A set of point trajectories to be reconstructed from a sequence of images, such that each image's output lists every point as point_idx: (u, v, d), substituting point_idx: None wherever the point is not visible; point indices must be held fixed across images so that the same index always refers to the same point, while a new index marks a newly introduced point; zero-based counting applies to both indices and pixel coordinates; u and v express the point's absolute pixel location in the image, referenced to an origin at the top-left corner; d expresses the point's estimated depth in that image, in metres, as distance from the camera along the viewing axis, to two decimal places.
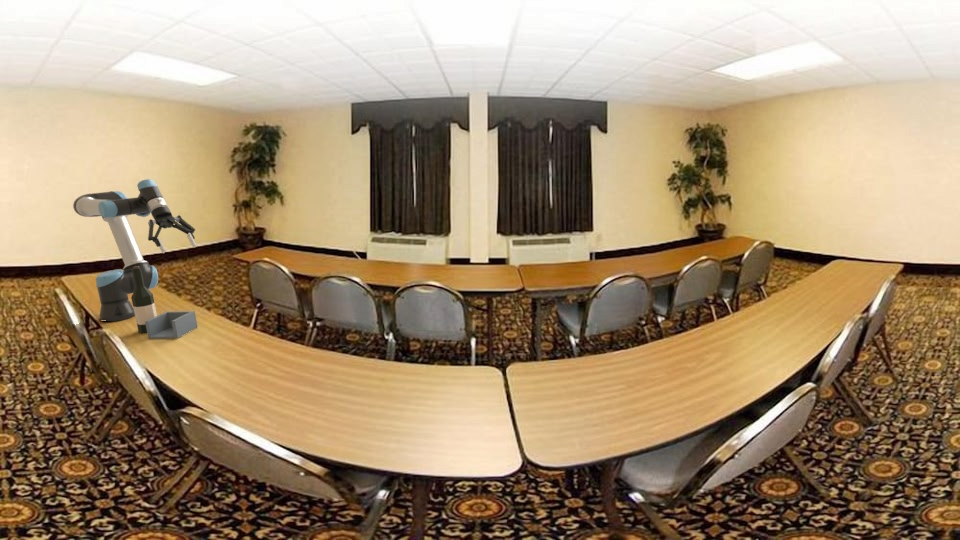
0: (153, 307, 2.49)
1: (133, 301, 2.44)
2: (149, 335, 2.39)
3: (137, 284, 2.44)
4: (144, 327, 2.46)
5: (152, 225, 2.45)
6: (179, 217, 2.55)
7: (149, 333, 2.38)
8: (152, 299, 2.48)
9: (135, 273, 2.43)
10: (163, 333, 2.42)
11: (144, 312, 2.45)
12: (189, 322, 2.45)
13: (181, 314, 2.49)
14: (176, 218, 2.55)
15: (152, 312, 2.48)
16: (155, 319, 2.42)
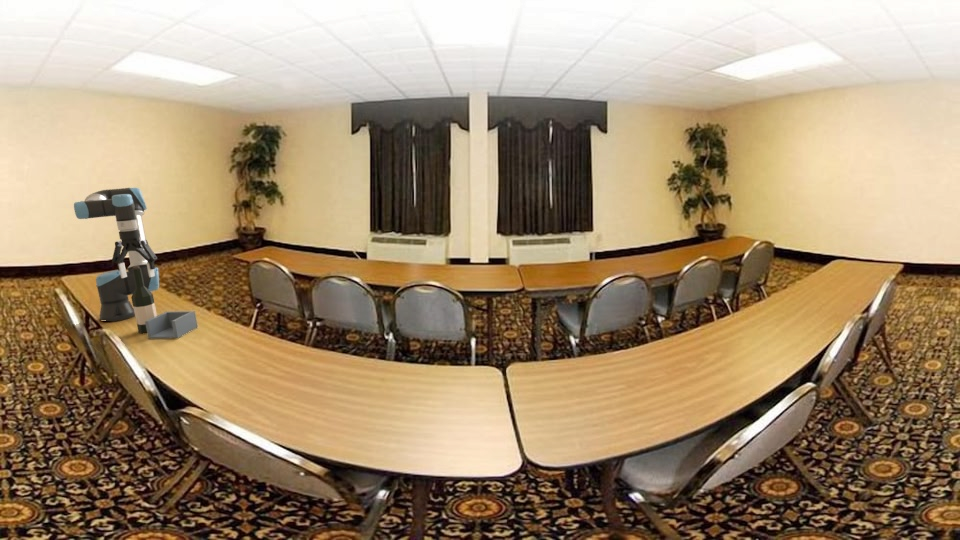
0: (153, 307, 2.49)
1: (133, 301, 2.44)
2: (149, 335, 2.39)
3: (137, 284, 2.44)
4: (144, 327, 2.46)
5: (116, 248, 2.41)
6: (142, 243, 2.39)
7: (149, 333, 2.38)
8: (152, 299, 2.48)
9: (135, 273, 2.43)
10: (163, 333, 2.42)
11: (144, 312, 2.45)
12: (189, 322, 2.45)
13: (181, 314, 2.49)
14: (141, 242, 2.40)
15: (152, 312, 2.48)
16: (155, 319, 2.42)
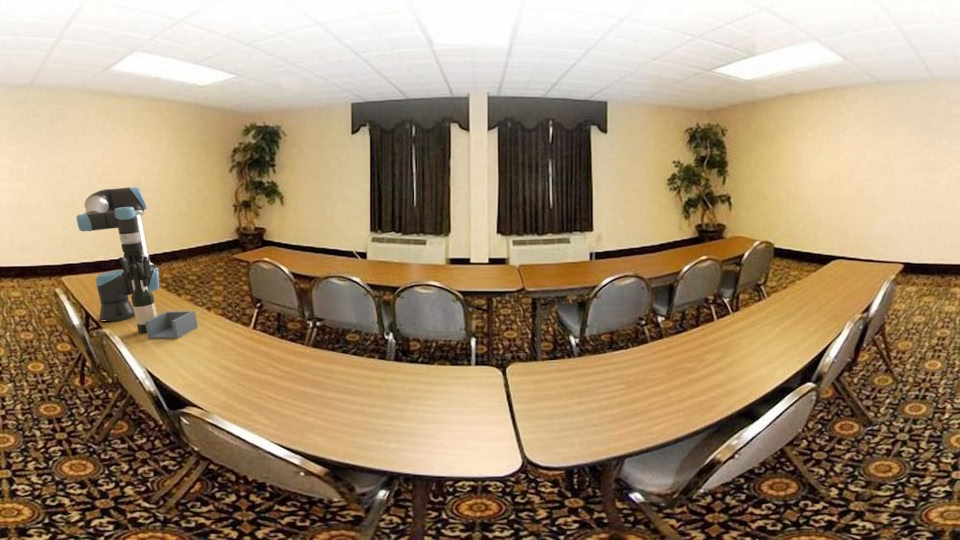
0: (153, 307, 2.49)
1: (133, 301, 2.44)
2: (149, 335, 2.39)
3: (137, 284, 2.44)
4: (144, 327, 2.46)
5: (123, 264, 2.43)
6: (144, 259, 2.41)
7: (149, 333, 2.38)
8: (152, 299, 2.48)
9: (135, 273, 2.43)
10: (163, 333, 2.42)
11: (144, 312, 2.45)
12: (189, 322, 2.45)
13: (181, 314, 2.49)
14: (143, 257, 2.42)
15: (152, 312, 2.48)
16: (155, 319, 2.42)
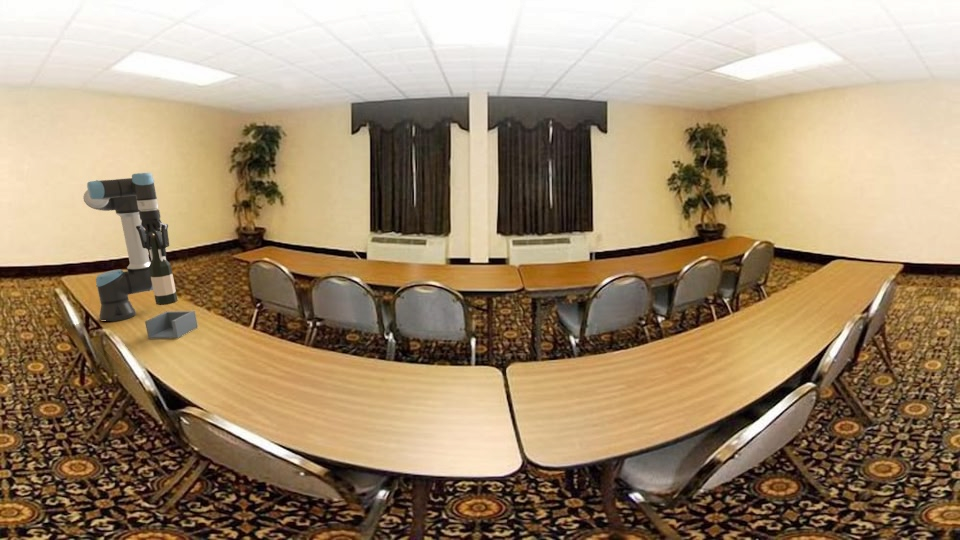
0: (171, 278, 2.39)
1: (151, 271, 2.35)
2: (149, 335, 2.39)
3: (155, 253, 2.35)
4: (162, 298, 2.37)
5: (140, 233, 2.34)
6: (162, 227, 2.32)
7: (149, 333, 2.38)
8: (170, 270, 2.39)
9: (153, 242, 2.34)
10: (163, 333, 2.42)
11: (162, 283, 2.36)
12: (189, 322, 2.45)
13: (181, 314, 2.49)
14: (161, 225, 2.33)
15: (170, 283, 2.39)
16: (155, 319, 2.42)
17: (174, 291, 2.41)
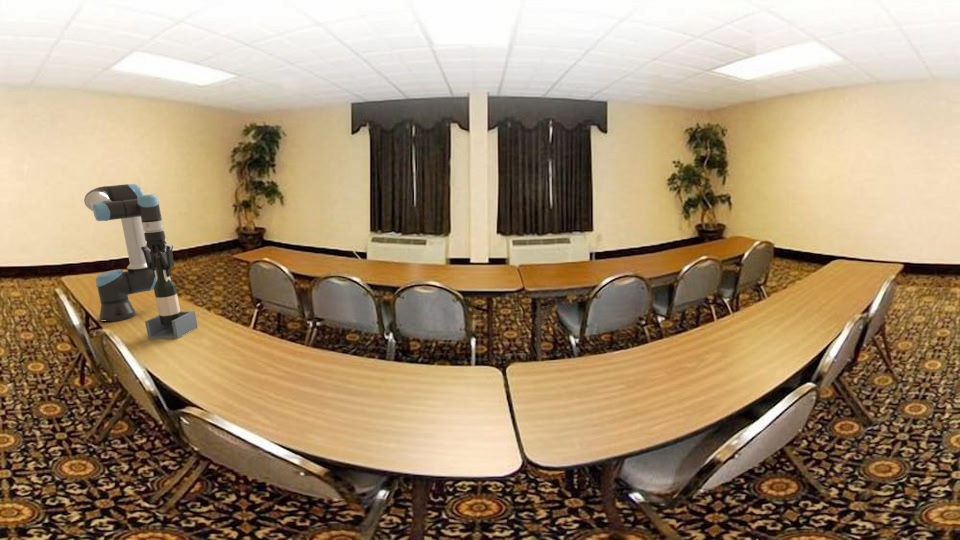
0: (176, 298, 2.42)
1: (156, 292, 2.37)
2: (149, 335, 2.39)
3: (160, 274, 2.37)
4: (167, 318, 2.39)
5: (145, 253, 2.36)
6: (167, 248, 2.34)
7: (149, 333, 2.38)
8: (175, 290, 2.41)
9: (158, 263, 2.36)
10: (163, 333, 2.42)
11: (167, 303, 2.38)
12: (189, 322, 2.45)
13: (181, 314, 2.49)
14: (166, 246, 2.35)
15: (175, 303, 2.41)
16: (155, 319, 2.42)
17: (179, 311, 2.43)
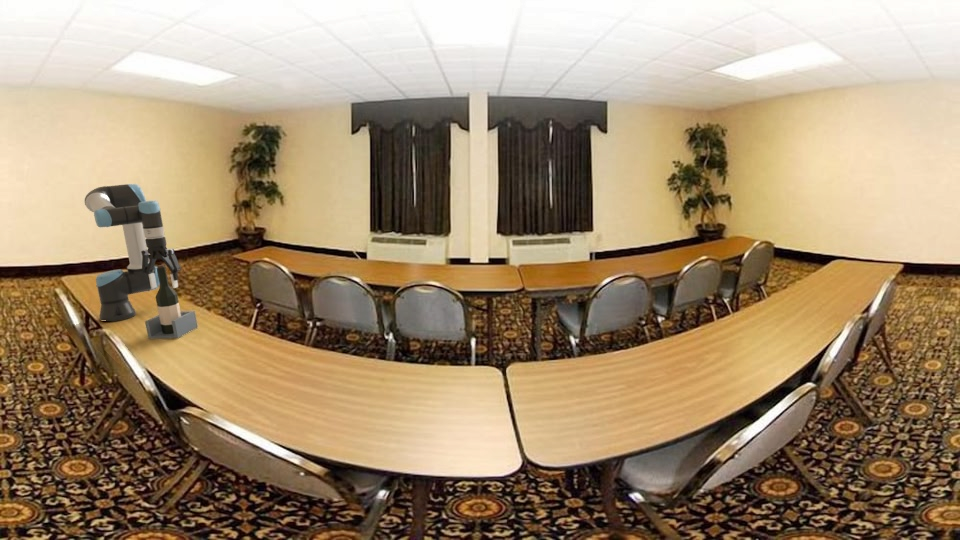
0: (177, 307, 2.43)
1: (157, 301, 2.38)
2: (149, 335, 2.39)
3: (161, 283, 2.38)
4: (168, 327, 2.41)
5: (143, 258, 2.37)
6: (168, 252, 2.35)
7: (149, 333, 2.38)
8: (176, 299, 2.42)
9: (160, 272, 2.37)
10: (163, 333, 2.42)
11: (169, 312, 2.39)
12: (189, 322, 2.45)
13: (181, 314, 2.49)
14: (167, 251, 2.35)
15: (177, 312, 2.42)
16: (155, 319, 2.42)
17: None
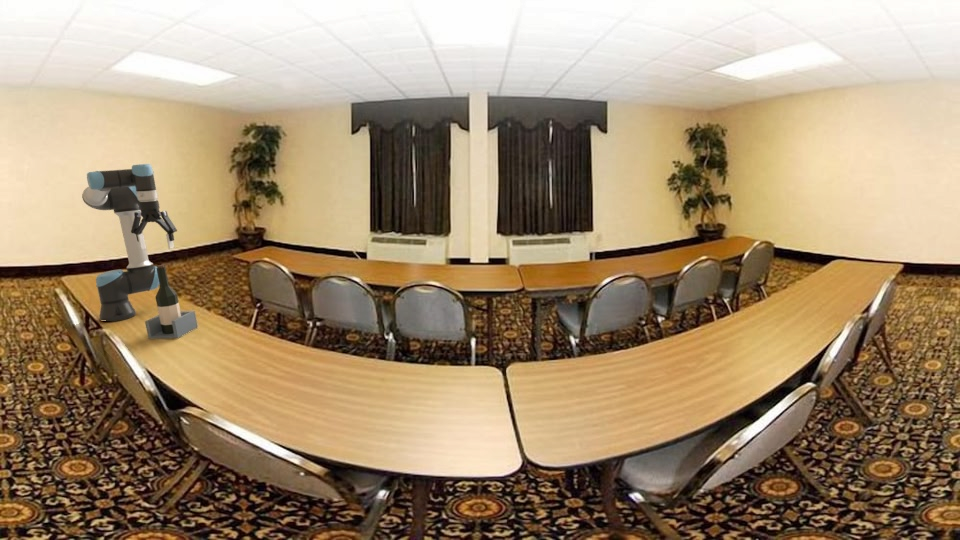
0: (177, 307, 2.43)
1: (157, 301, 2.38)
2: (149, 335, 2.39)
3: (161, 283, 2.38)
4: (168, 327, 2.41)
5: (135, 219, 2.39)
6: (161, 214, 2.37)
7: (149, 333, 2.38)
8: (176, 299, 2.42)
9: (159, 272, 2.37)
10: (163, 333, 2.42)
11: (169, 312, 2.39)
12: (189, 322, 2.45)
13: (181, 314, 2.49)
14: (160, 213, 2.38)
15: (177, 312, 2.42)
16: (155, 319, 2.42)
17: None
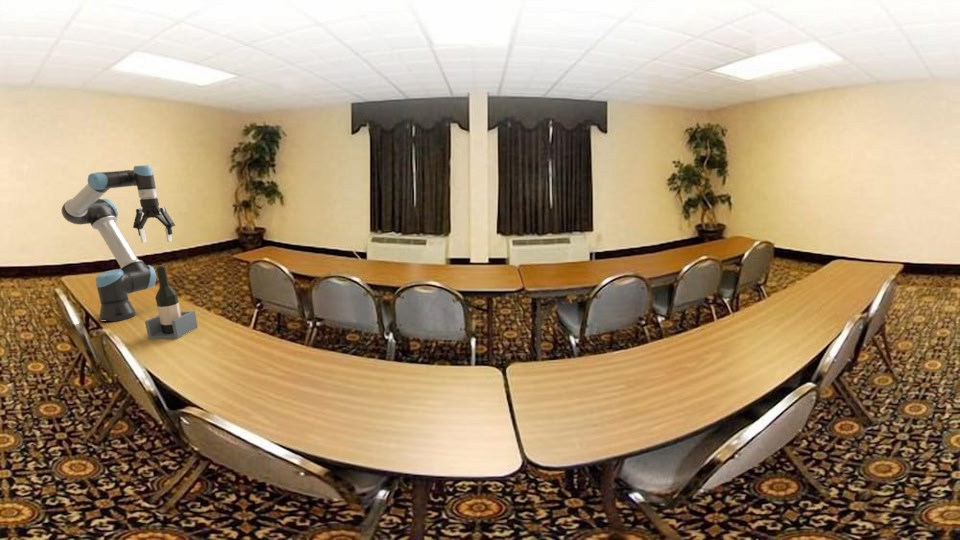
0: (177, 307, 2.43)
1: (157, 301, 2.38)
2: (149, 335, 2.39)
3: (161, 283, 2.38)
4: (168, 327, 2.41)
5: (137, 215, 2.64)
6: (161, 210, 2.62)
7: (149, 333, 2.38)
8: (176, 299, 2.42)
9: (159, 272, 2.37)
10: (163, 333, 2.42)
11: (169, 312, 2.39)
12: (189, 322, 2.45)
13: (181, 314, 2.49)
14: (160, 210, 2.63)
15: (177, 312, 2.42)
16: (155, 319, 2.42)
17: None
